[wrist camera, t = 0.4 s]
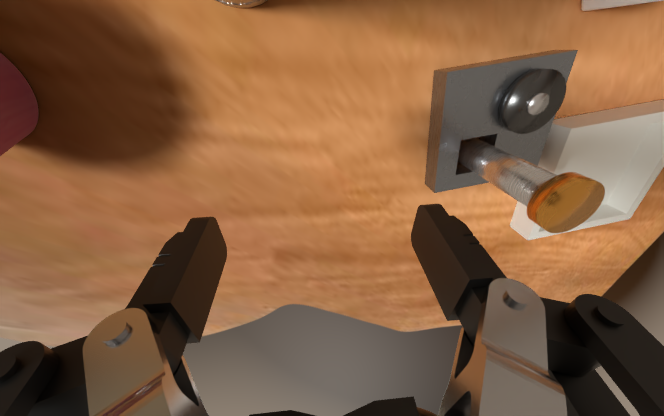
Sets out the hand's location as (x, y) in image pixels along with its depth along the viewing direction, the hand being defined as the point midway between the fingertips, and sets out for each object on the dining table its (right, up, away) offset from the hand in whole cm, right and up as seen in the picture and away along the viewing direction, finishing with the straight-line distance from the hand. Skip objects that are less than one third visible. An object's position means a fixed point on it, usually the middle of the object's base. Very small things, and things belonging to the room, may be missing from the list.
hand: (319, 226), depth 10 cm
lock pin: (+16, +8, +20) cm, 27 cm away
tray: (+35, +6, +25) cm, 43 cm away
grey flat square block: (+18, +11, +19) cm, 28 cm away
